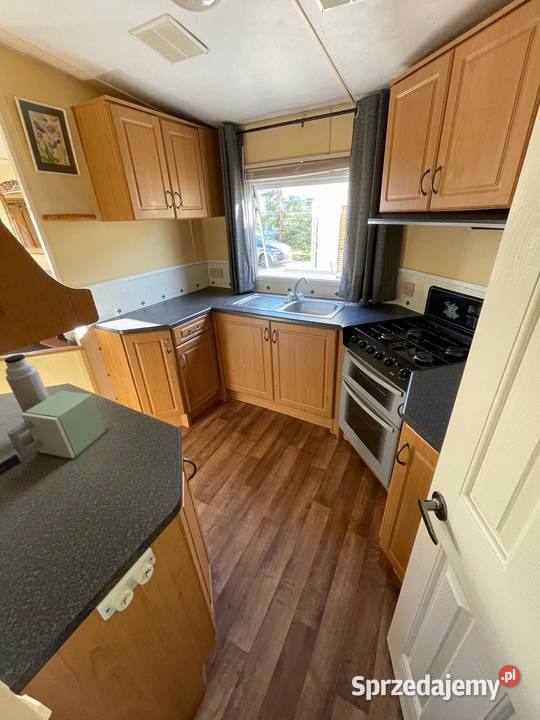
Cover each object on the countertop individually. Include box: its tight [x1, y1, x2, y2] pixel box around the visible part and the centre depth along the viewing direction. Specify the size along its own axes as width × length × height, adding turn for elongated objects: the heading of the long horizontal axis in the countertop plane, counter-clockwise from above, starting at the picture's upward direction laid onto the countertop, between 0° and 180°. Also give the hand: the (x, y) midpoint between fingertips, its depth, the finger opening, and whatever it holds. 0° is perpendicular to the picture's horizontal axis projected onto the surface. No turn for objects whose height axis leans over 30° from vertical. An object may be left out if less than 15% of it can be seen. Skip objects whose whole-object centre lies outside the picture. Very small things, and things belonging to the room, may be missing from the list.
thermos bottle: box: [4, 353, 50, 414], centre depth 96 cm, size 8×8×28 cm
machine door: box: [6, 412, 76, 460], centre depth 84 cm, size 7×13×14 cm, turn 75°
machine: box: [25, 390, 106, 457], centre depth 92 cm, size 12×13×15 cm
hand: (5, 451), depth 80 cm, fingers open, 13 cm apart
